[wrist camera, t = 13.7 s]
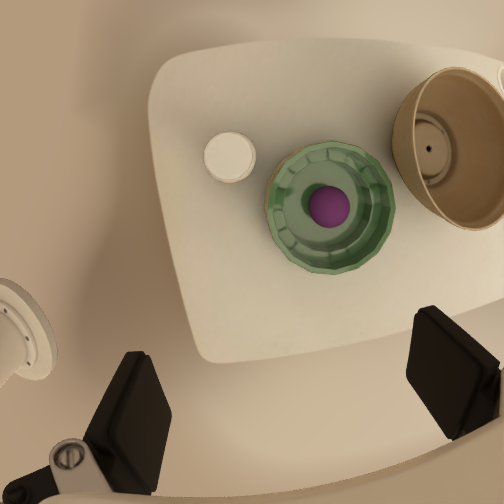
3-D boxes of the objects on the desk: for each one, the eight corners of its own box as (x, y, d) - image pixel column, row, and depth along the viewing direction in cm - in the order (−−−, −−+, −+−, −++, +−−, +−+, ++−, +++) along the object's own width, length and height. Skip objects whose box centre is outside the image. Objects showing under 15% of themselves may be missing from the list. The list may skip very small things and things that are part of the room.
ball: (296, 200, 33) (304, 205, 28) (328, 176, 32) (340, 178, 28) (319, 231, 34) (329, 240, 29) (349, 208, 33) (363, 214, 29)
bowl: (240, 191, 33) (239, 196, 28) (334, 122, 31) (348, 116, 26) (308, 280, 36) (317, 298, 31) (394, 215, 34) (414, 224, 29)
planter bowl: (482, 159, 32) (536, 164, 21) (418, 237, 35) (469, 263, 24) (417, 64, 28) (467, 41, 18) (338, 139, 31) (378, 130, 21)
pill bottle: (258, 175, 32) (262, 178, 24) (215, 184, 33) (205, 190, 25) (249, 133, 31) (250, 122, 23) (206, 142, 31) (194, 135, 23)
